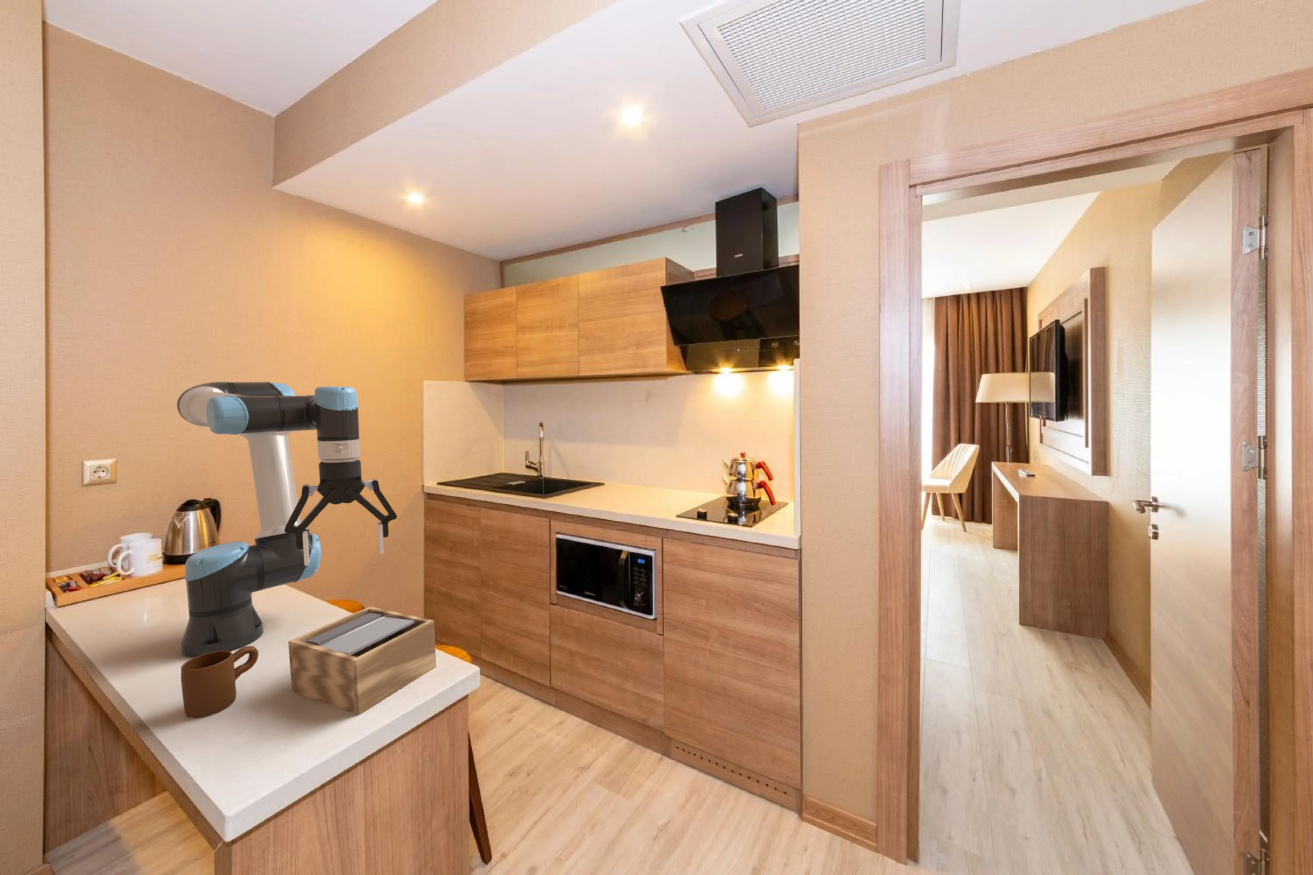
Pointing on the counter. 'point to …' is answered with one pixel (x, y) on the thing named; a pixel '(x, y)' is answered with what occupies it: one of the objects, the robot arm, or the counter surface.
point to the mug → (213, 680)
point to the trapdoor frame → (362, 664)
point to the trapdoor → (359, 633)
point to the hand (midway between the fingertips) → (345, 557)
